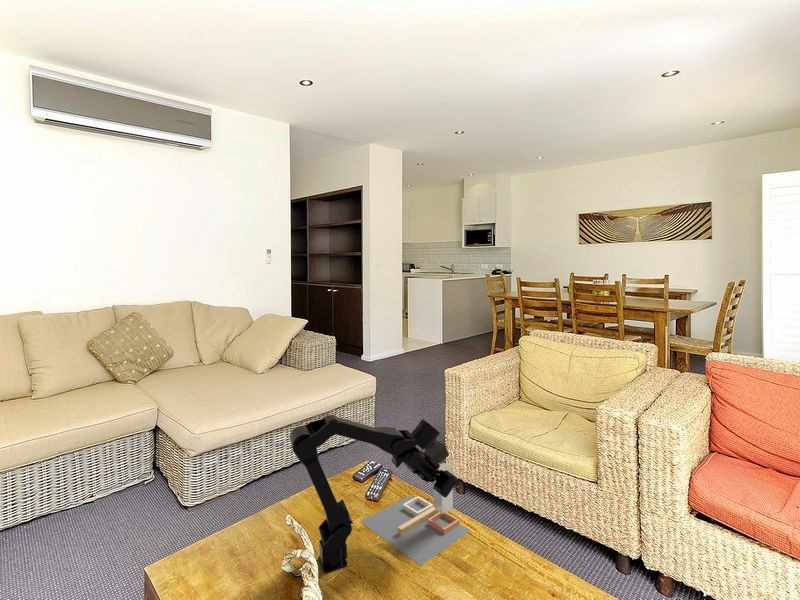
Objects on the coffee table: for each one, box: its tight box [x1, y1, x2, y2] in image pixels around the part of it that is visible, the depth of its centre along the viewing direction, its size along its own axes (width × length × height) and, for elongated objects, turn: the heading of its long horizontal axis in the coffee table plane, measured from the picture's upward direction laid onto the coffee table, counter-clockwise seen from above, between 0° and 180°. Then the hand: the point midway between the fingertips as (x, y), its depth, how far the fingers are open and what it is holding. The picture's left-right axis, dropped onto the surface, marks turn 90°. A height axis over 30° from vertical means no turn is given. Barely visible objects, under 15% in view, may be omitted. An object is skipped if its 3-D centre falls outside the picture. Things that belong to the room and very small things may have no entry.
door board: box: [360, 495, 472, 566], centre depth 131 cm, size 21×26×4 cm
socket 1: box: [403, 495, 434, 516], centre depth 140 cm, size 7×7×2 cm
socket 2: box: [428, 512, 461, 534], centre depth 131 cm, size 7×7×2 cm
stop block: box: [433, 462, 454, 514], centre depth 130 cm, size 4×4×13 cm
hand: (446, 486), depth 131 cm, fingers closed on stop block, 4 cm apart
